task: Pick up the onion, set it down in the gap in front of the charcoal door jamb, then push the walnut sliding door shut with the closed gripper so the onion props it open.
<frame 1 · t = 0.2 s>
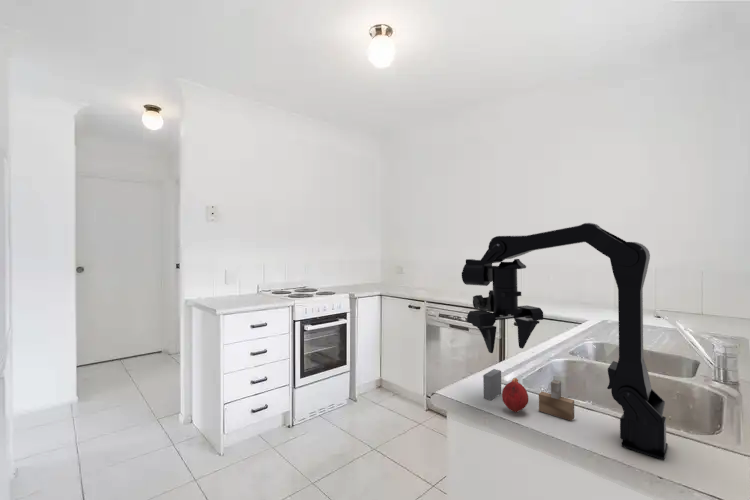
hand: (506, 350, 86), 14 cm above the counter, tool pointing down, fingers open, 9 cm apart
onion: (515, 413, 82), on the counter
door: (556, 398, 81), point 4 cm above the counter, slide at 0.0 cm
jamb: (492, 395, 92), on the counter
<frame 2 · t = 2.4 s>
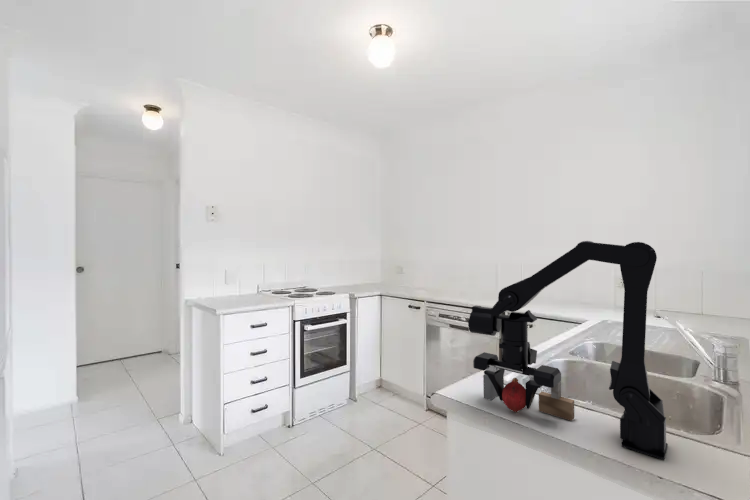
hand: (515, 404, 82), 2 cm above the counter, tool pointing down, fingers closed on onion, 6 cm apart
onion: (515, 413, 82), on the counter, touching gripper
everything else where it was.
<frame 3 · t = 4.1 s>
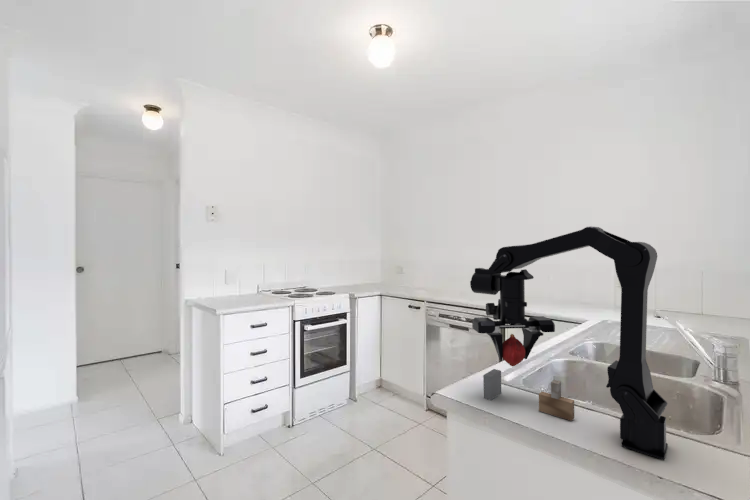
hand: (512, 358, 87), 11 cm above the counter, tool pointing down, fingers closed on onion, 6 cm apart
onion: (512, 367, 87), point 9 cm above the counter, touching gripper
everything else where it was.
when the fingers open (3 cm above the counter, at t = 5.9 s): onion drops 1 cm, on the counter.
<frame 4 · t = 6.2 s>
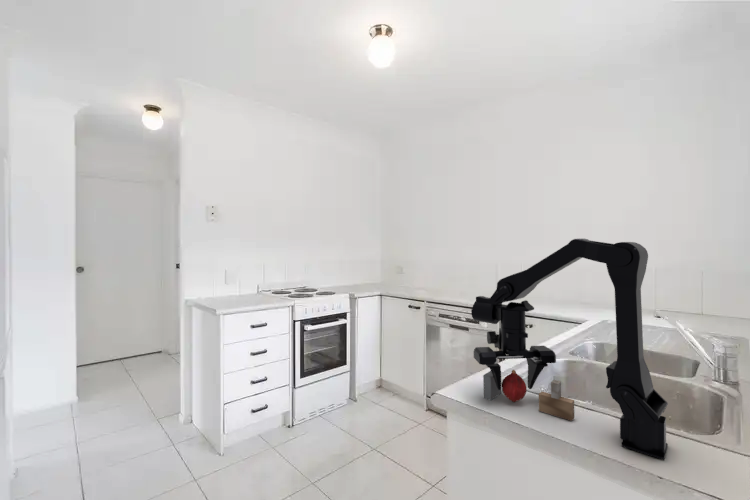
hand: (514, 388, 88), 3 cm above the counter, tool pointing down, fingers open, 7 cm apart
onion: (513, 402, 88), on the counter
everything else where it was.
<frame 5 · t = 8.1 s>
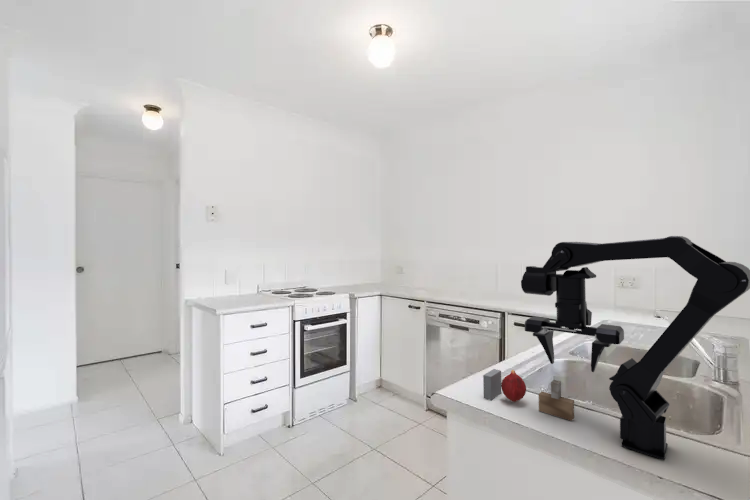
hand: (572, 367, 78), 12 cm above the counter, tool pointing down, fingers open, 8 cm apart
nothing on the counter moved.
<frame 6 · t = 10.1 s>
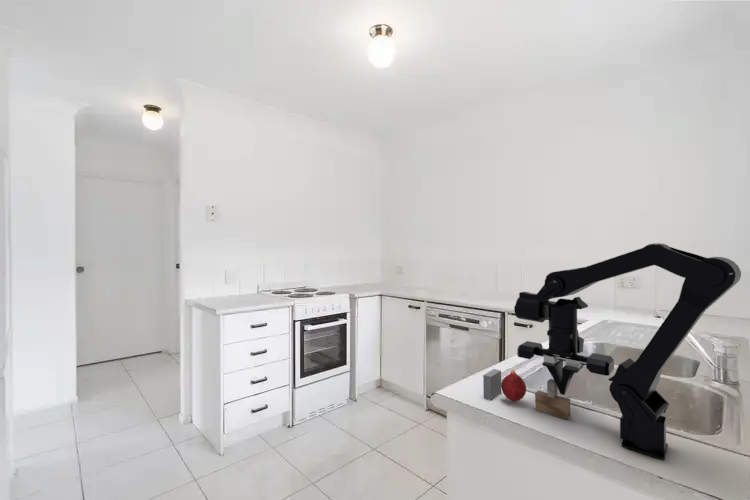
hand: (563, 394, 80), 5 cm above the counter, tool pointing down, fingers closed
door: (552, 397, 81), point 4 cm above the counter, slide at 0.8 cm, touching gripper
everything else where it was.
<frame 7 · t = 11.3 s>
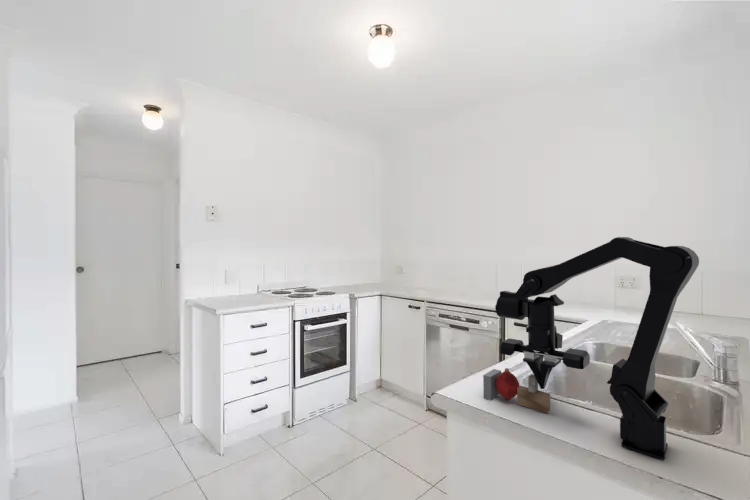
hand: (542, 388, 83), 5 cm above the counter, tool pointing down, fingers closed
onion: (507, 400, 89), on the counter, touching door, jamb
door: (533, 391, 84), point 4 cm above the counter, slide at 5.1 cm, touching gripper, onion
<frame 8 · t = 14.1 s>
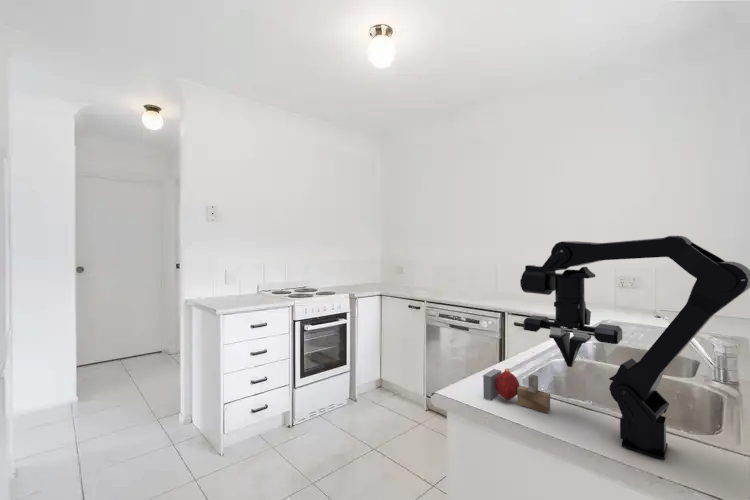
hand: (570, 366, 78), 12 cm above the counter, tool pointing down, fingers closed
onion: (507, 400, 89), on the counter
door: (533, 391, 84), point 4 cm above the counter, slide at 5.1 cm
at the end: door slide at 5.1 cm; onion inside the target area (0.6 cm from its centre), on the counter; onion tilted 0° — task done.
